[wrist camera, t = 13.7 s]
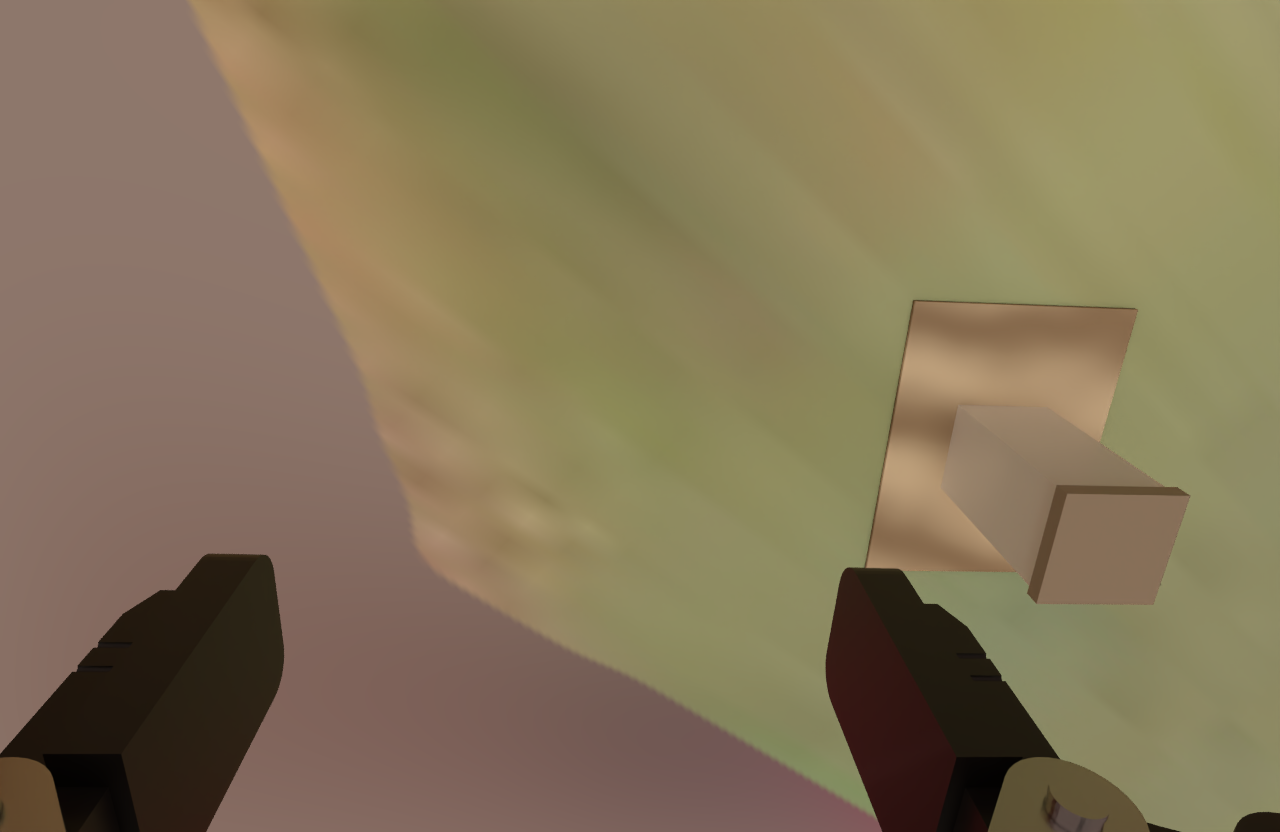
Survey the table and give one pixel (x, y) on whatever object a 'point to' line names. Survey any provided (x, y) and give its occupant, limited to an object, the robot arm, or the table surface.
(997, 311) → the mat
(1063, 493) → the canister
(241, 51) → the table surface
